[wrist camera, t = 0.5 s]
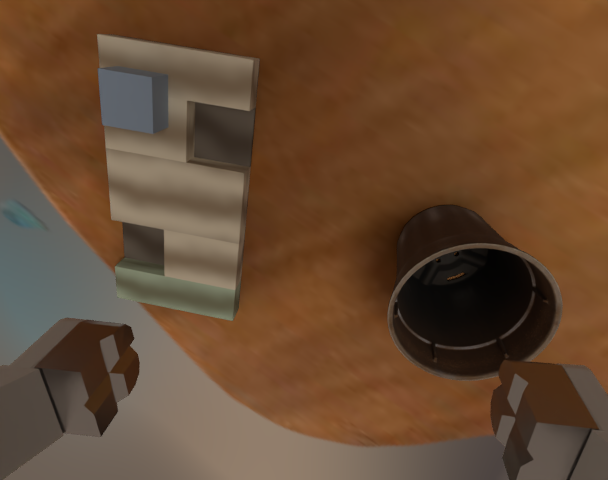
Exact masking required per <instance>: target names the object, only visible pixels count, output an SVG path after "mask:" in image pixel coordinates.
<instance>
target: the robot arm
mask: <svg viewBox="0 0 608 480" xmlns="http://www.w3.org/2000/svg"><path fill="white" fill-rule="evenodd" d="M133 340H134V337H133V333H132V329H131V327H130V326H128V325H126V324H119V323H111V322H102V321H94V320H82V319H74V318H65V319H61V320H59V321H58V322H57V323H56V324H54V325H53V327H51V328H50V329H49V330H48V331H47V332H46V333H45V334H43V335H42V336H41V337H40V338H39V339H38V340H37V341H36V342H35V343H34V344H33V345H31V346H30V347H29V348H28V349H27V350H26V351H25V352H24V353H23V354H22V355H21V356H19V357H18V358H17V359H16V360H15V361H14V362H13V363H12V364H11V365H9V366H7V365H2V366H0V480H3V479H4V478H6V477H7V476H8V475H10V474H11V473H12V472H14V471H15V470H17V469H18V468H19V467H21V466H22V465H23V464H25V463H26V462H27V461H29V460H30V459H32V458H33V457H34V456H36V455H37V454H39V453H40V452H41V451H43V450H44V449H46V448H47V447H48V446H50V445H51V444H52V443H54V442H55V441H57V440H58V439H59V438H61V437H62V436H63V433H65V434H76V435H86V436H96V437H101V436H102V435H103V433H104V432H105V430H106V429H107V427H108V426H109V424H110V423H111V421H112V420H113V418H114V417H115V415H116V414H117V412H118V408H117V402H119V401H120V400H122V399H124V398H125V397H127V396H128V395H129V394H130V393H131V391H132V389H133V388H134V386H135V384H136V381H137V378H138V375H139V358H138V354H137V353H136V352H135V351H134V350H133V349H132V348H131V347H130V344H131V343H132V341H133ZM498 375H499V378H500V381H501V383H502V384H501V385H500V386H499V387H497V388H496V389H495V390H493V395H492V399H491V414H490V416H491V422H492V427H493V431H494V434H495V437H496V439H498V440H499V441H500V442H501V443H502V444H503V445H504V446H505V450H504V453H503V456H502V459H503V462H504V466H505V469H506V472H507V475H508V478H509V480H608V395H607V393H606V392H605V390H604V389H603V387H602V386H601V385H600V383H599V382H598V380H597V379H596V377H595V376H594V374H593V373H592V371H591V370H590V369H589V368H587V367H586V366H584V365H570V364H550V363H539V362H527V361H516V360H504V361H503V362H502V364H501V366H500V369H499V373H498Z"/></svg>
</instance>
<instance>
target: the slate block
mask: <svg viewBox="0 0 608 480" xmlns="http://www.w3.org/2000/svg"><path fill="white" fill-rule="evenodd" d="M98 77H99V89H100V102H101V115H102V125H105V126H111V127H117V128H122V129H128V130H133V131H139V132H145V133H150V134H154V133H157V132H159V131H161V130H163V129H166V128H168V74H162V73H156V72H150V71H144V70H139V69H133V68H127V67H121V66H114V67H104V68H98Z"/></svg>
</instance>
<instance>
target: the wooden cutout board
mask: <svg viewBox="0 0 608 480" xmlns="http://www.w3.org/2000/svg"><path fill="white" fill-rule="evenodd" d="M97 38H98V51H99V64H100V68H104V67H114V66H121V67H127V68H133V69H139V70H144V71H150V72H156V73H162V74H168V128H166V129H163V130H161V131H159V132H157V133H154V134H150V133H145V132H139V131H133V130H128V129H122V128H117V127H111V126H105V125H104V129H105V142H106V155H107V169H108V182H109V195H110V208H111V220H116V221H121V222H122V223H123V239H124V255H125V258H124V259H123V260H121V261H120V262H119V263H118V264H117V265H116V266H115V273H116V286H117V297H118V298H123V299H128V300H133V301H138V302H143V303H148V304H152V305H157V306H162V307H167V308H172V309H177V310H182V311H187V312H192V313H197V314H201V315H206V316H211V317H216V318H221V319H226V320H231V321H233V319H234V317H235V315H236V313H237V311H238V308H239V297H240V285H241V273H242V261H243V250H244V238H245V226H246V214H247V203H248V191H249V179H250V168H251V156H252V144H253V132H254V121H255V109H256V97H257V86H258V74H259V62H260V59H259V58H252V57H246V56H240V55H234V54H228V53H222V52H216V51H210V50H204V49H198V48H192V47H185V46H179V45H173V44H167V43H161V42H155V41H149V40H143V39H137V38H131V37H125V36H118V35H112V34H97Z"/></svg>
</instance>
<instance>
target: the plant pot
mask: <svg viewBox="0 0 608 480" xmlns="http://www.w3.org/2000/svg"><path fill="white" fill-rule="evenodd" d="M455 252H459V255H458V256H454V253H455ZM438 258H439V259H441V261H440V262H439V263H437V262H436V259H438ZM462 272H463V273H465V275H464V276H462V277H460V278H457V279H453V280H449V281H448V280H446V279H447V278H449V277H452V276H456V275H458V274H460V273H462ZM561 316H562V298H561V293H560V289H559V287H558V284H557V282H556V281H555V279H554V277H553V276H552V274H551V273H550V272H549V271H548V269H547V268H546V267H545V266H544V265H542V264H541V263H540V262H539V261H538V260H536V259H535V258H534V257H532V256H531V255H529V254H528V253H526V252H524V251H521V250H519V249H518V248H516V247H515V246H513V245H512V244H510V243H508V242H506V241H505V240H504V239H503V238H502V237H501V236H500V235H499V234H498V233H497V232H496V231H495V230H494V229H492V228H491V227H490V226H489V225H488V224H487V223H486V222H485V221H484V220H483V218H482V217H480V216H479V215H478V214H477V213H475V212H474V211H471V210H468V209H466V208H463V207H459V206H455V205H442V206H436V207H432V208H430V209H427V210H425V211H423V212H421V213H419V214H417V215H416V216H414V217H413V218H412V219H411V220H410V221H409V222H408V223H407V224H406V225H405V227H404V229H403V231H402V233H401V235H400V237H399V240H398V243H397V278H396V282H395V285H394V290H393V293H392V296H391V299H390V302H389V307H388V327H389V331H390V334H391V337H392V339H393V341H394V343H395V345H396V346H397V348H398V349H399V351H400V352H401V353H402V354H403V355H404V356H405V357H406V358H407V359H408V360H409V361H410V362H411V363H413V364H414V365H416V366H417V367H419V368H421V369H422V370H424V371H426V372H428V373H430V374H433V375H436V376H439V377H443V378H447V379H452V380H465V381H472V380H482V379H488V378H492V377H496V376H499V375H498V373H499V369H500V366H501V364H502V362H503V361H504V360H516V361H527V362H530V361H531V360H533V359H534V358H535V357H536V356H538V355H539V354H540V353H541V352H542V351H543V350H544V349H545V348H546V346H547V345H548V344H549V343H550V341H551V340H552V338H553V337H554V335H555V333H556V331H557V329H558V327H559V324H560V321H561Z"/></svg>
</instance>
